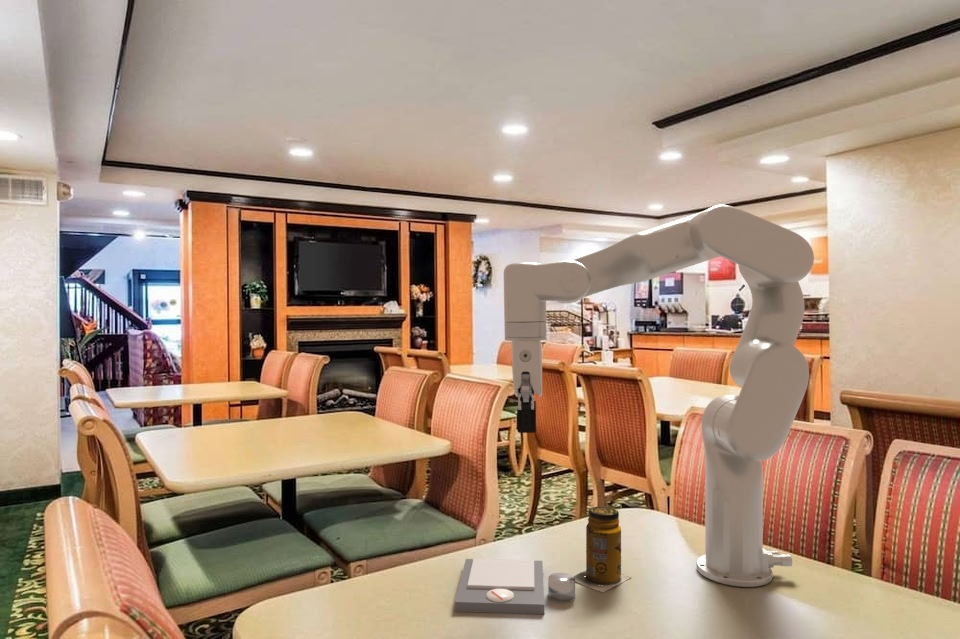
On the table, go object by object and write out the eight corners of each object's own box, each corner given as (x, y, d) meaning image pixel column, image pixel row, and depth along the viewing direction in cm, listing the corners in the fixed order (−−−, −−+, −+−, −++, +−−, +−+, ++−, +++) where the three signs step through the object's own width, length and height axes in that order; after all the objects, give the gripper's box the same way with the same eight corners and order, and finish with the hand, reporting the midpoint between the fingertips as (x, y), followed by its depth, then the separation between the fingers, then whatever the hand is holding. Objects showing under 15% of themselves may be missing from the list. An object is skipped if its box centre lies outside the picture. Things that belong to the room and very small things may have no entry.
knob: (574, 590, 106) (574, 573, 106) (576, 603, 102) (576, 584, 102) (548, 590, 107) (547, 572, 107) (548, 602, 102) (548, 583, 102)
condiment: (631, 578, 111) (631, 510, 111) (603, 593, 105) (602, 521, 105) (597, 566, 116) (596, 501, 116) (568, 580, 110) (568, 511, 110)
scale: (542, 568, 115) (542, 558, 115) (544, 614, 98) (544, 601, 98) (465, 566, 116) (465, 556, 116) (454, 611, 99) (454, 598, 99)
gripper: (547, 333, 104) (549, 437, 105) (545, 329, 122) (547, 418, 122) (502, 334, 105) (503, 437, 105) (506, 330, 122) (508, 418, 123)
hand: (527, 427), depth 114 cm, fingers open, 9 cm apart
